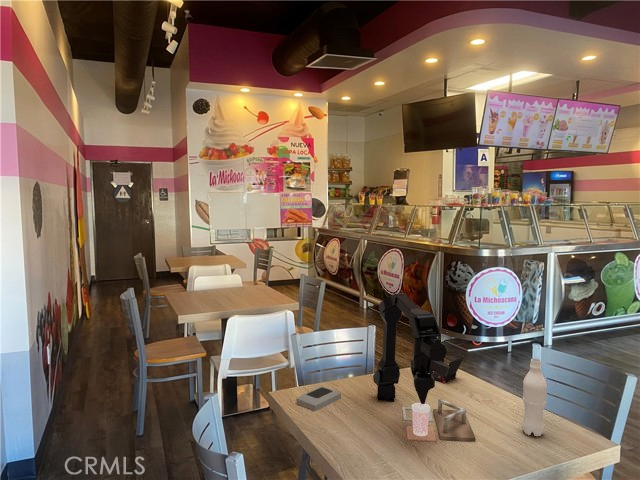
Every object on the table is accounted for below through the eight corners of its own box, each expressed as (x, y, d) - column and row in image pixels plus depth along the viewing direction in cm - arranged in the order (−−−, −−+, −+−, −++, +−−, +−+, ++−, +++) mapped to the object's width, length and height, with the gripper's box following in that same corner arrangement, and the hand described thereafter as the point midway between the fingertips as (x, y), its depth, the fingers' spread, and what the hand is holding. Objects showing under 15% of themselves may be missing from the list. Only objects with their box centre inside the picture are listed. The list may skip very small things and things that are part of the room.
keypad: (296, 395, 180) (322, 383, 191) (296, 404, 181) (322, 392, 192) (315, 402, 174) (341, 390, 185) (315, 412, 174) (341, 399, 186)
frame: (403, 420, 167) (403, 419, 167) (402, 408, 177) (402, 407, 177) (432, 422, 166) (432, 421, 166) (429, 409, 176) (429, 408, 176)
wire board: (440, 439, 154) (440, 421, 153) (433, 412, 174) (433, 395, 173) (475, 441, 153) (476, 423, 152) (464, 413, 172) (464, 397, 172)
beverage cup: (408, 434, 157) (408, 392, 155) (415, 426, 162) (415, 386, 161) (425, 439, 153) (426, 397, 152) (432, 431, 158) (433, 390, 157)
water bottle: (520, 435, 157) (523, 361, 154) (522, 426, 163) (525, 355, 161) (544, 440, 153) (547, 365, 151) (545, 431, 160) (548, 358, 157)
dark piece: (438, 372, 213) (439, 350, 212) (462, 380, 204) (463, 357, 203) (426, 378, 207) (426, 355, 206) (450, 386, 198) (451, 362, 197)
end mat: (407, 440, 154) (407, 438, 154) (405, 426, 163) (405, 425, 163) (436, 441, 153) (436, 440, 153) (432, 428, 162) (432, 427, 161)
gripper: (452, 362, 145) (451, 411, 146) (443, 343, 163) (442, 388, 165) (414, 360, 146) (414, 409, 147) (410, 342, 165) (410, 386, 166)
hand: (421, 397), depth 156 cm, fingers open, 9 cm apart
